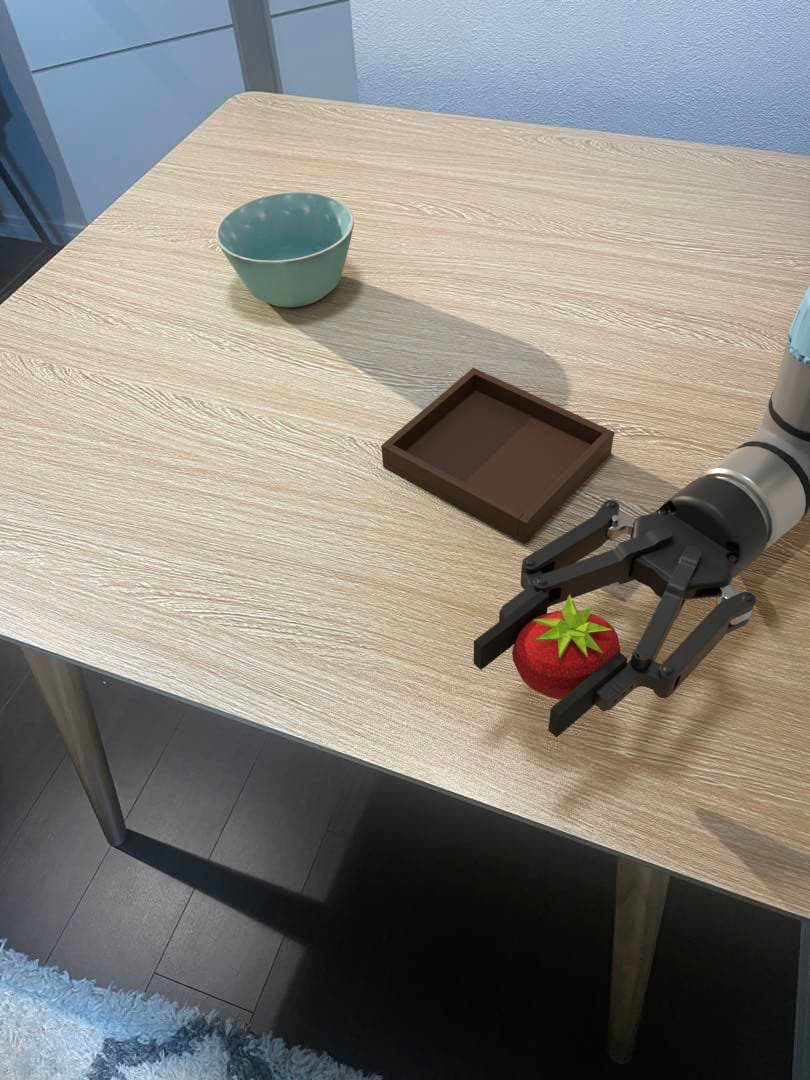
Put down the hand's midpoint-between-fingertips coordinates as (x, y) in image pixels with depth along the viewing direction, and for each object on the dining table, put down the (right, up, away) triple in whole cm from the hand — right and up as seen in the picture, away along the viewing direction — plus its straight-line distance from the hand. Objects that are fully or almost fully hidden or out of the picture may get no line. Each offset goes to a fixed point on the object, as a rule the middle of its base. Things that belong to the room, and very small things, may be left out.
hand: (514, 688), depth 61 cm
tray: (+2, +18, +28) cm, 33 cm away
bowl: (-21, +40, +49) cm, 67 cm away
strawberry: (+4, -2, +7) cm, 8 cm away
